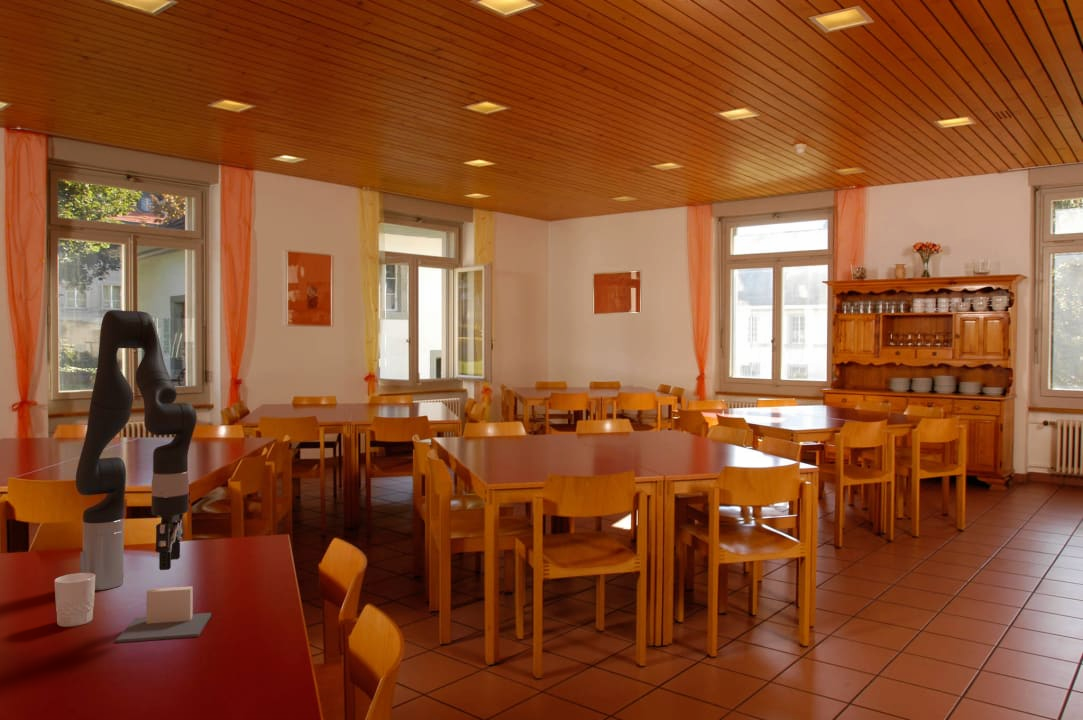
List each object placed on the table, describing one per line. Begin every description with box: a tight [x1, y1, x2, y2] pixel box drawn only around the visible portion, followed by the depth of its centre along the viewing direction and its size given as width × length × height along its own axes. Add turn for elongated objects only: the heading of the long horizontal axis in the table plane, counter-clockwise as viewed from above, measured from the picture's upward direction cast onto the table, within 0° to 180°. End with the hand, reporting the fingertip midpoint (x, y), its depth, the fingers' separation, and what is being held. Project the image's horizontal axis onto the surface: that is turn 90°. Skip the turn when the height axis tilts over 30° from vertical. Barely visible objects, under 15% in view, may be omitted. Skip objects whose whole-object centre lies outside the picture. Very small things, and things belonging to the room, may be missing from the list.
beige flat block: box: [146, 585, 194, 624], centre depth 172 cm, size 9×2×7 cm, turn 103°
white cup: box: [54, 572, 96, 628], centre depth 173 cm, size 8×8×10 cm
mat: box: [115, 612, 212, 644], centre depth 169 cm, size 16×14×1 cm
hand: (169, 564), depth 172 cm, fingers open, 8 cm apart
